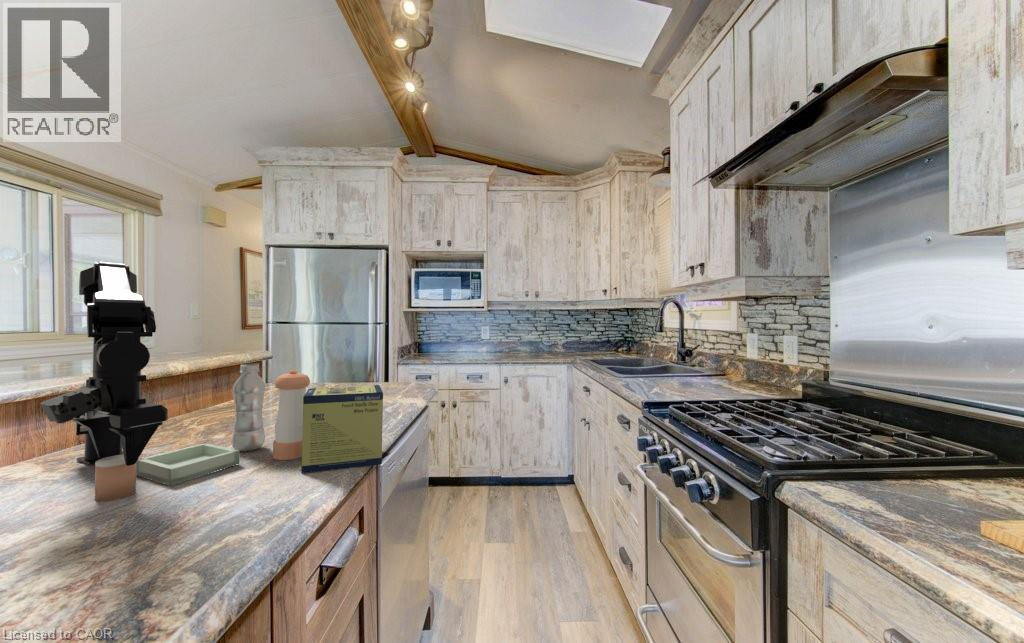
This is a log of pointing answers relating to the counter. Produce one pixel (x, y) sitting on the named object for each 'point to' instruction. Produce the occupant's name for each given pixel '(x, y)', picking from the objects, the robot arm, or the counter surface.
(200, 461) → the tray
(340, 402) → the protein box
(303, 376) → the pepper shaker
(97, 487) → the spice pot
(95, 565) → the counter surface
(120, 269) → the robot arm
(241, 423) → the plastic bottle
